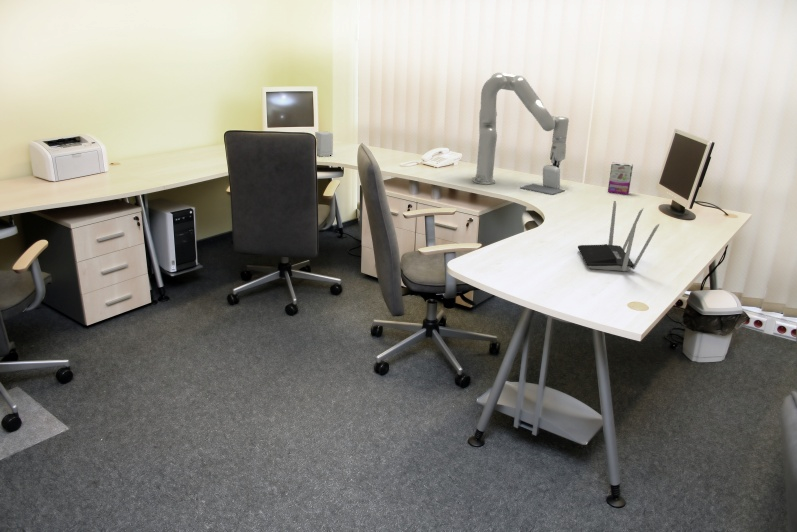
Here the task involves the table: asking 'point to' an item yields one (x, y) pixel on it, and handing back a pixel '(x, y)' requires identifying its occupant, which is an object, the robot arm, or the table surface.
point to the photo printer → (551, 176)
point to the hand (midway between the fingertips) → (555, 172)
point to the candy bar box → (620, 178)
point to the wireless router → (613, 250)
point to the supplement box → (324, 143)
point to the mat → (542, 189)
